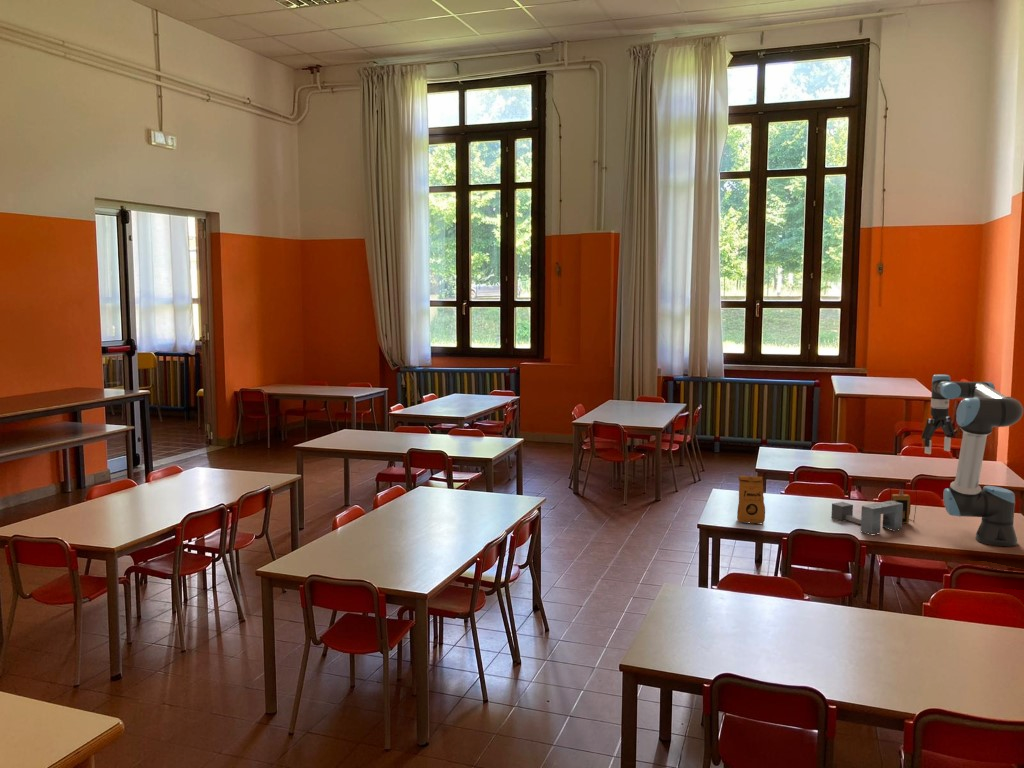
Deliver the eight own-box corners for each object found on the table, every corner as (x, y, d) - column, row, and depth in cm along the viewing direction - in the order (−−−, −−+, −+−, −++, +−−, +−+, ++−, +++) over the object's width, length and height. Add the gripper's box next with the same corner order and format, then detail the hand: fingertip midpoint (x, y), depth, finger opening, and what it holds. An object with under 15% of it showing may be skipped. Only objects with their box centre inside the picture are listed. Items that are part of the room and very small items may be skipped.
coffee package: (764, 526, 366) (766, 479, 364) (736, 524, 370) (737, 477, 367) (764, 520, 376) (766, 474, 373) (737, 518, 379) (738, 473, 377)
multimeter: (908, 517, 378) (910, 476, 376) (917, 523, 368) (919, 481, 366) (876, 517, 379) (878, 475, 377) (884, 523, 369) (886, 480, 367)
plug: (877, 526, 364) (878, 512, 363) (866, 529, 361) (867, 514, 360) (842, 516, 382) (842, 501, 381) (831, 517, 379) (832, 503, 378)
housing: (901, 529, 359) (903, 503, 358) (872, 535, 351) (873, 509, 350) (890, 526, 365) (891, 500, 363) (860, 531, 356) (861, 505, 355)
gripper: (929, 410, 366) (926, 456, 368) (964, 406, 376) (962, 451, 379) (914, 408, 372) (912, 453, 375) (950, 404, 383) (947, 448, 386)
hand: (937, 452), depth 377 cm, fingers open, 13 cm apart
